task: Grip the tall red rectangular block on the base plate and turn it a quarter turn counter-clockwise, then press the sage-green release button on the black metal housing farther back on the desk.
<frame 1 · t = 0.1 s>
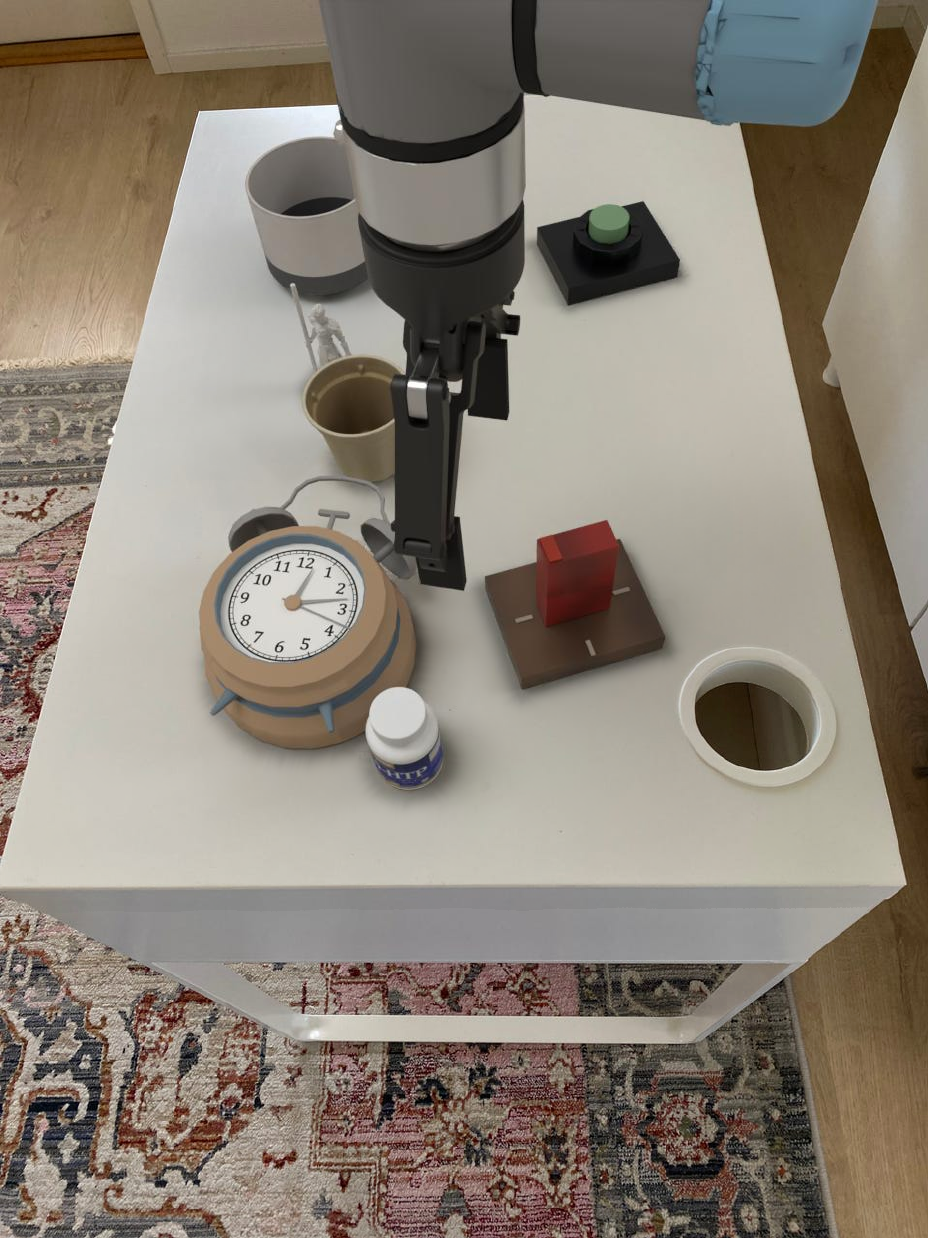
hand: (467, 494, 60), 20 cm above the table, tool pointing down, fingers open, 13 cm apart
planter: (329, 264, 102), on the table
alarm clock: (323, 625, 79), on the table
pill bottle: (410, 760, 73), on the table
base plate: (571, 617, 78), on the table
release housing: (605, 260, 99), on the table
release button: (608, 224, 96), point 4 cm above the table, slide at 0.1 cm
figurine: (338, 388, 93), on the table
red rectangular block: (575, 574, 72), point 7 cm above the table, hinge at 0.0°
flower pot: (371, 460, 88), on the table
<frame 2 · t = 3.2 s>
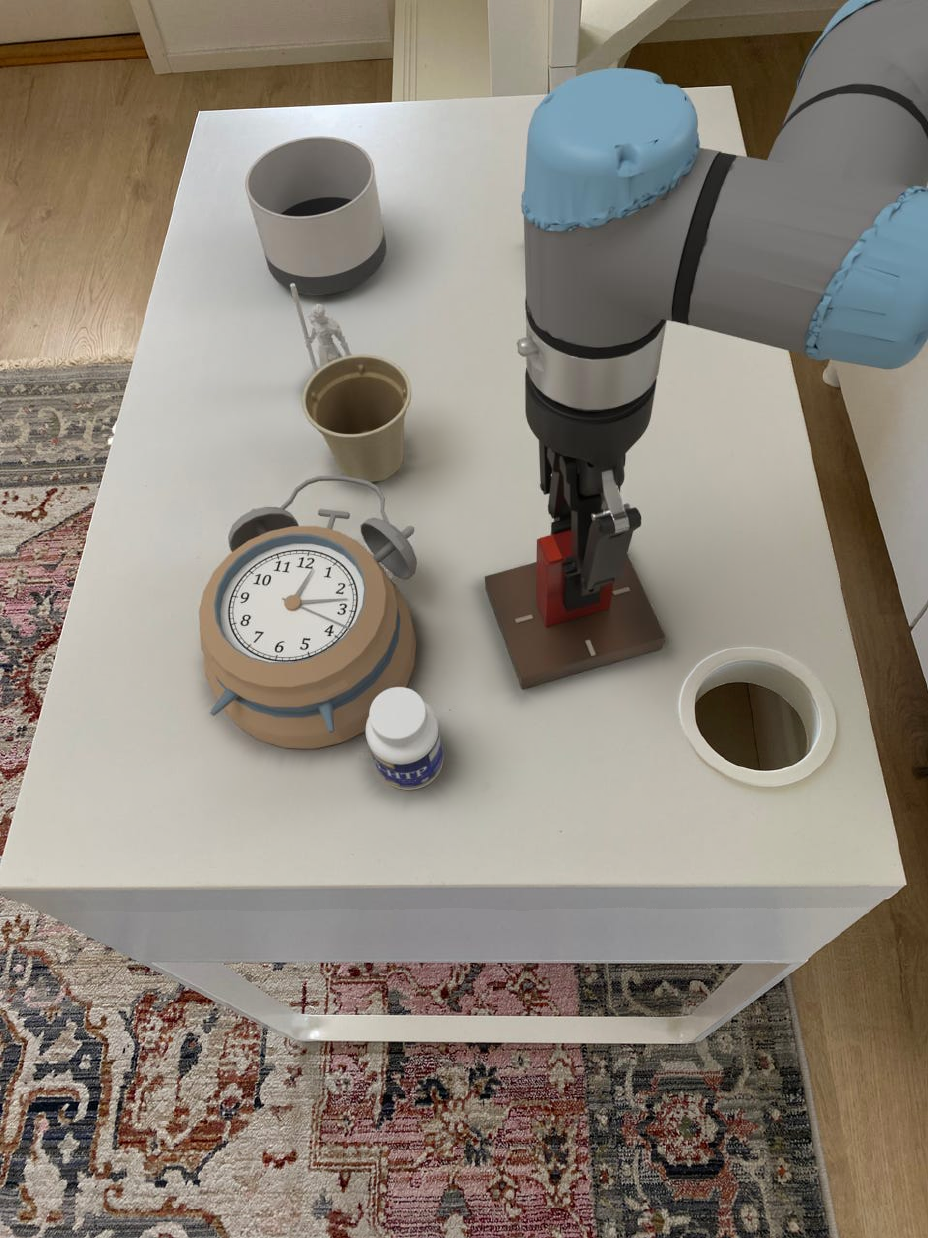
hand: (574, 586, 74), 5 cm above the table, tool pointing down, fingers closed on red rectangular block, 2 cm apart
red rectangular block: (575, 574, 72), point 7 cm above the table, hinge at 0.0°, touching gripper
everything else where it was.
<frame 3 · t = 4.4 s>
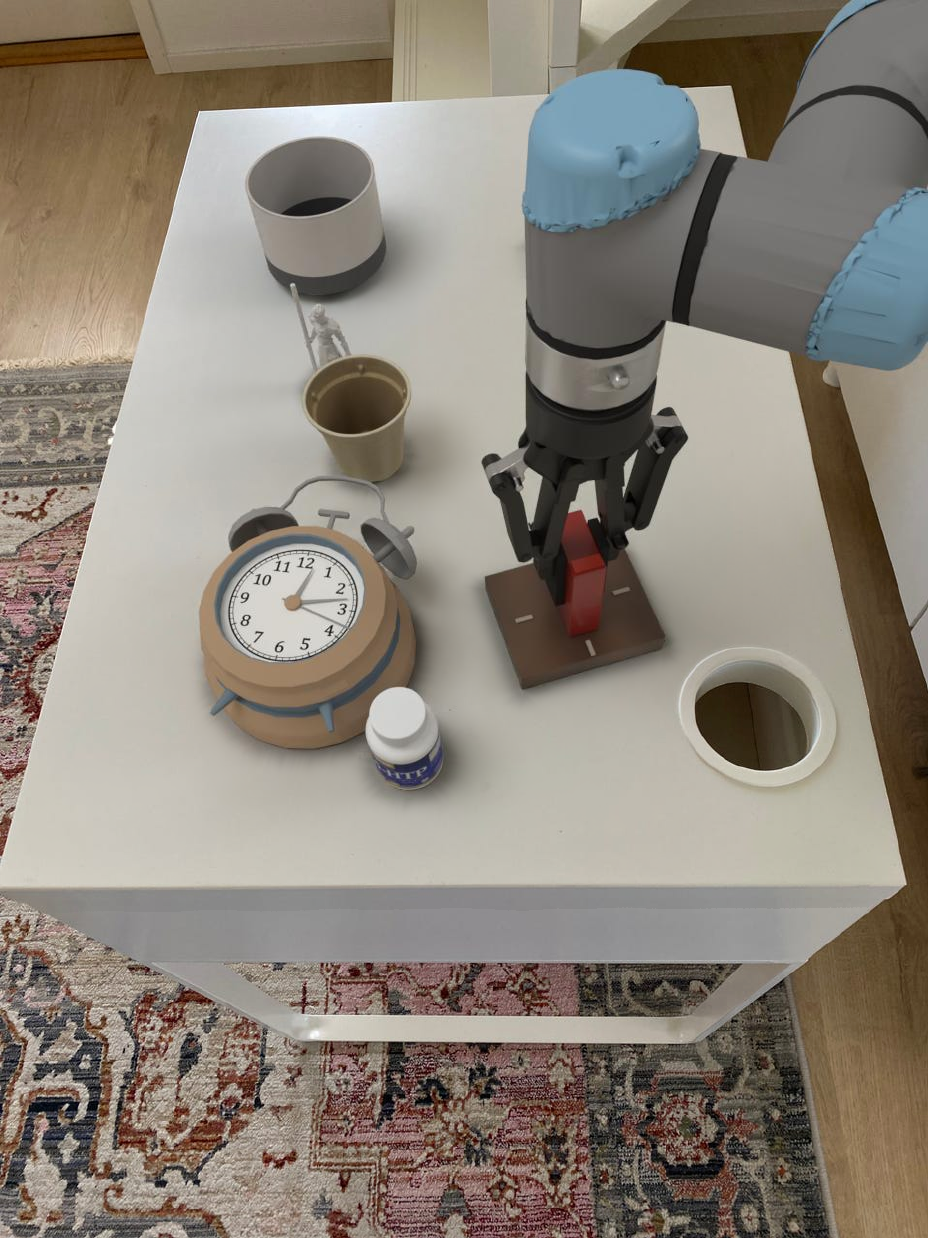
hand: (573, 585, 74), 5 cm above the table, tool pointing down, fingers closed on red rectangular block, 2 cm apart
red rectangular block: (575, 574, 72), point 7 cm above the table, hinge at 89.5°, touching gripper
everything else where it was.
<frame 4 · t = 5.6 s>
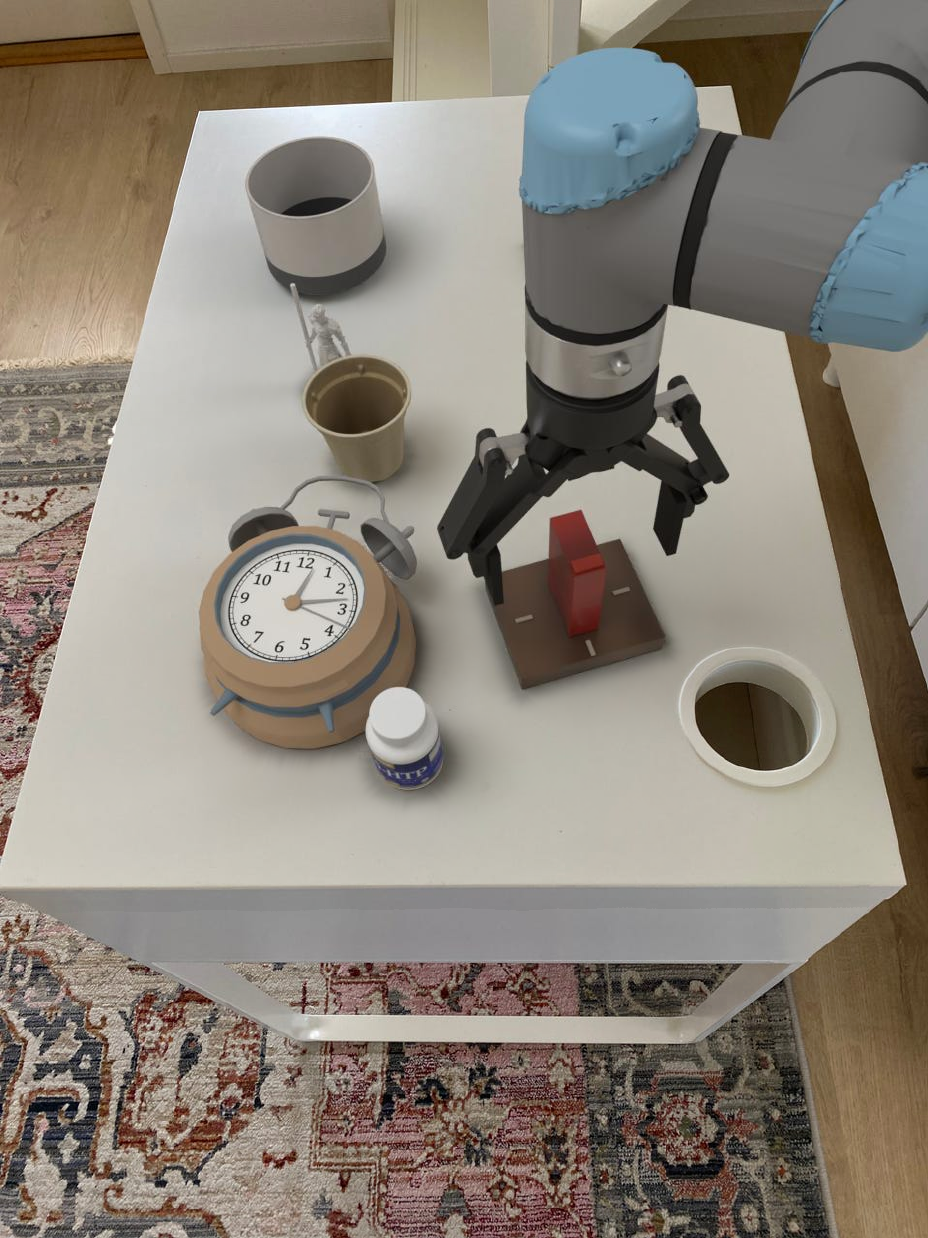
hand: (579, 565, 71), 8 cm above the table, tool pointing down, fingers open, 13 cm apart
red rectangular block: (575, 574, 72), point 7 cm above the table, hinge at 89.5°
everything else where it was.
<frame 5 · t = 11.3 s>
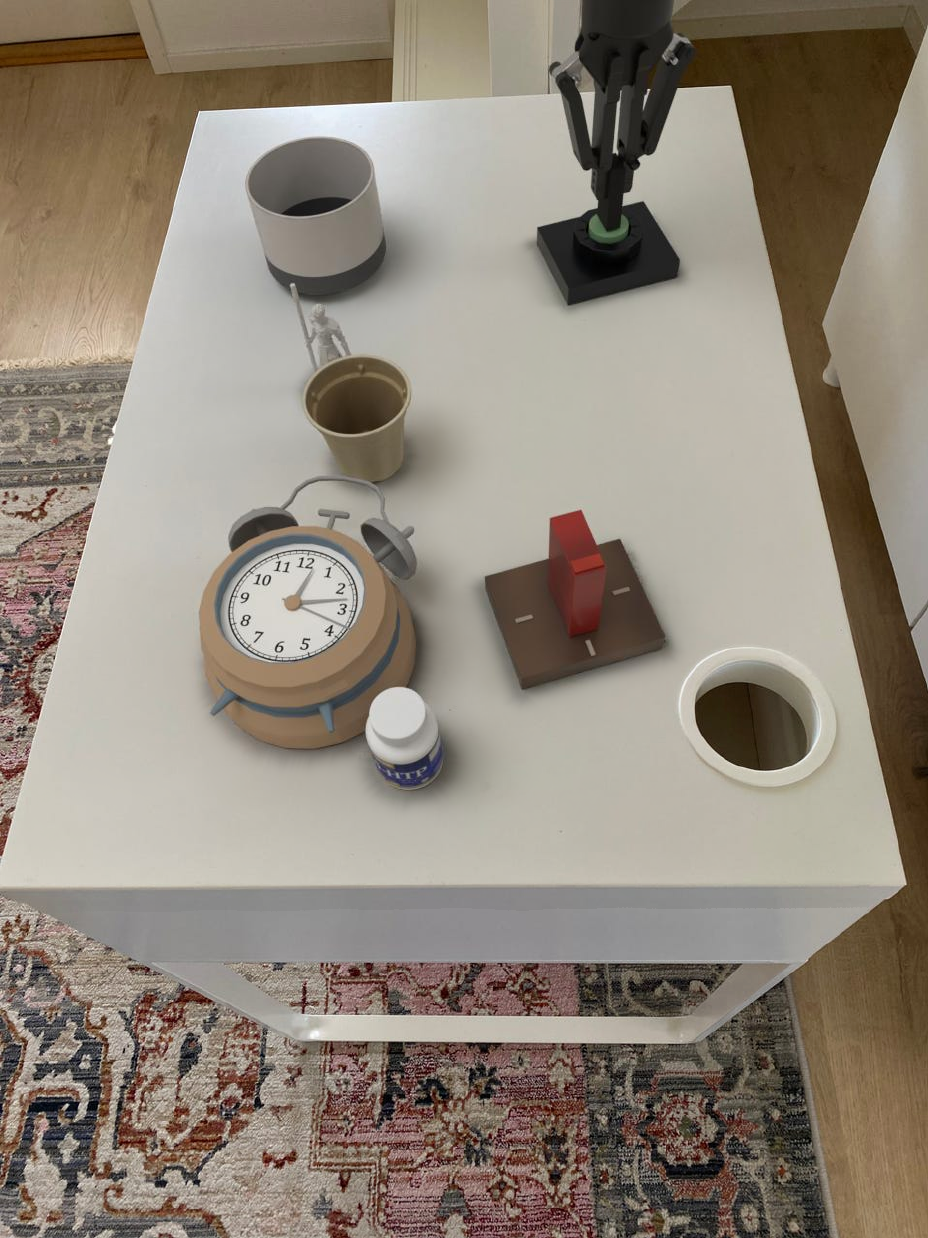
hand: (608, 220, 95), 5 cm above the table, tool pointing down, fingers closed
release button: (608, 231, 96), point 4 cm above the table, slide at -0.7 cm, touching gripper
everything else where it was.
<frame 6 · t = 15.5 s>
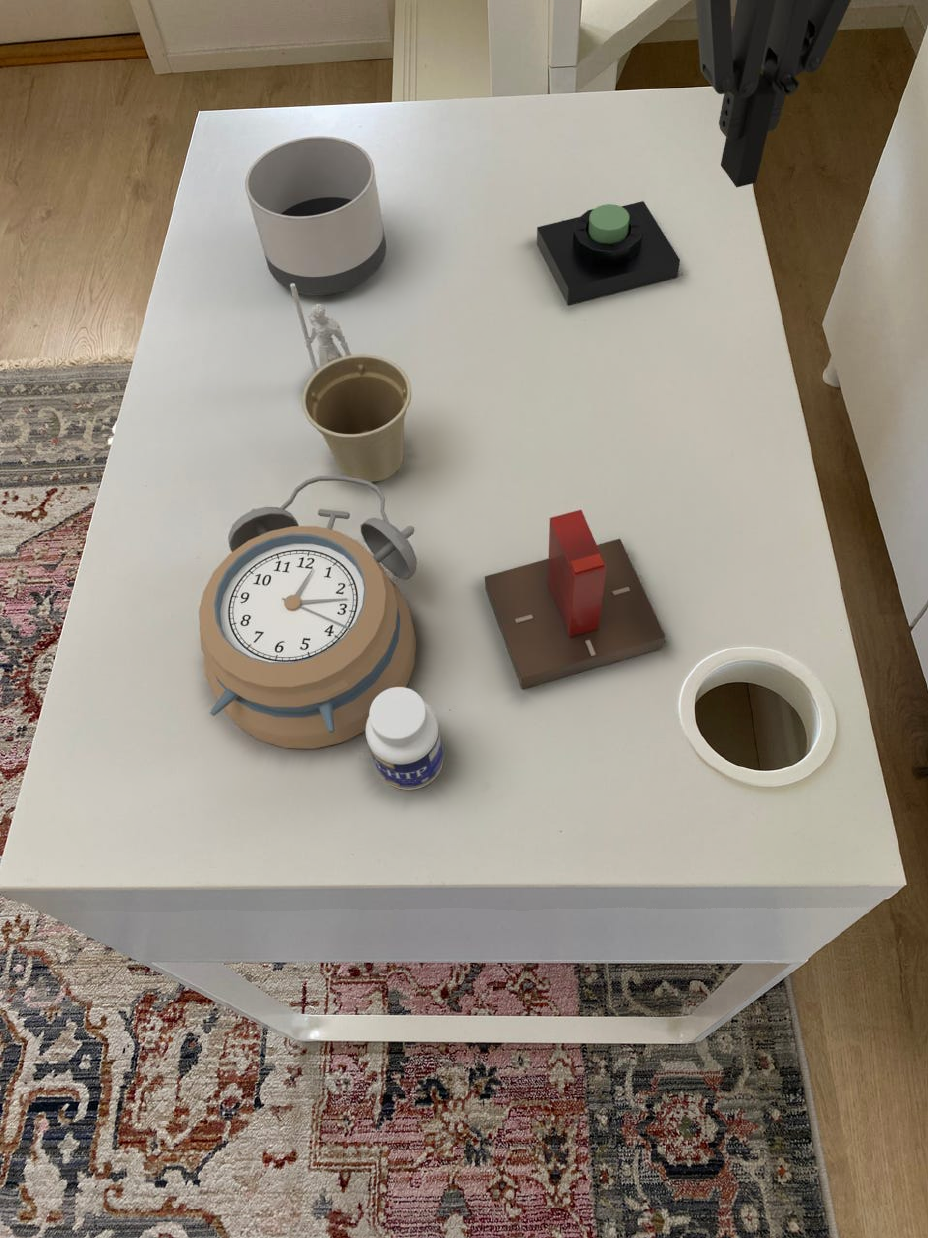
hand: (738, 173, 67), 24 cm above the table, tool pointing down, fingers closed
release button: (608, 224, 96), point 4 cm above the table, slide at 0.1 cm
everything else where it was.
at the end: red rectangular block at +90° (first picture: +0°); release button pushed in 1.0 cm at the most during the clip, back to where it started at the end; release button slide at 0.1 cm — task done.
